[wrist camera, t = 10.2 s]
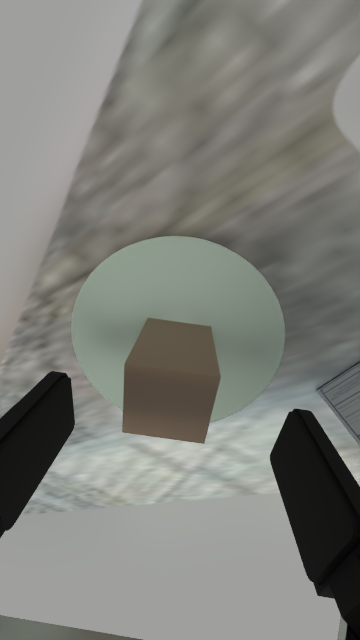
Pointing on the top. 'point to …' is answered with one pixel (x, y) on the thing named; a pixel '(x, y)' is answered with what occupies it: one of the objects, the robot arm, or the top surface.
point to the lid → (177, 335)
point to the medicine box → (345, 399)
